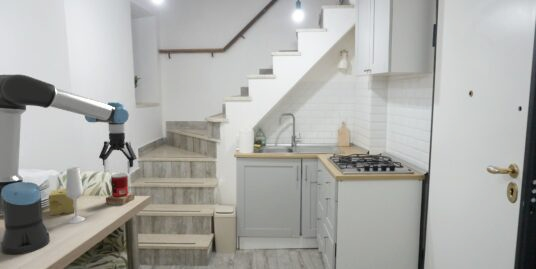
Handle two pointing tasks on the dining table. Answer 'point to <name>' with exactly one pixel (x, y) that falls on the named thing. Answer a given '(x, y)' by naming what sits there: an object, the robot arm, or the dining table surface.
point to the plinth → (120, 199)
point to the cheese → (60, 203)
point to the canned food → (119, 185)
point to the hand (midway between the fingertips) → (118, 172)
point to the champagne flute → (74, 190)
